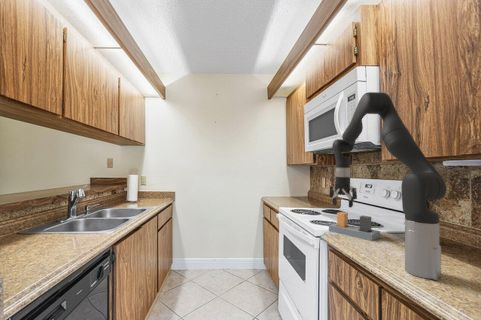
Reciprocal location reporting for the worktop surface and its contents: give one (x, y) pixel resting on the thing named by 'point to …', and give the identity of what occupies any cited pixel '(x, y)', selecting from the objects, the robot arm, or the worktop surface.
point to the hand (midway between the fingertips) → (342, 206)
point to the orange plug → (342, 219)
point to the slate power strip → (358, 229)
